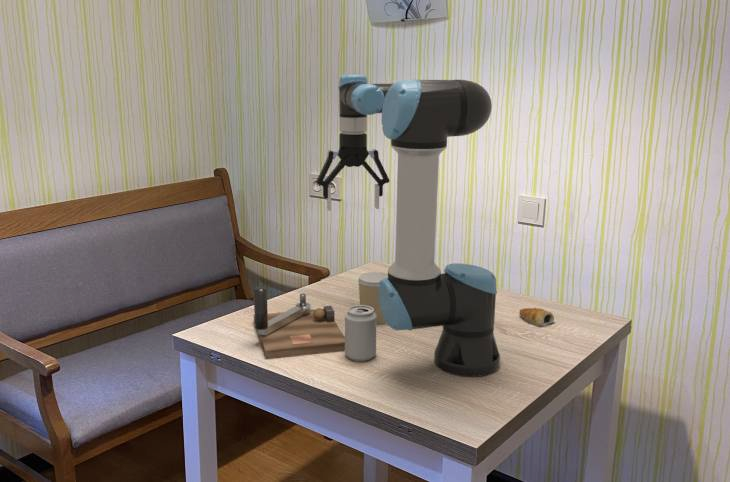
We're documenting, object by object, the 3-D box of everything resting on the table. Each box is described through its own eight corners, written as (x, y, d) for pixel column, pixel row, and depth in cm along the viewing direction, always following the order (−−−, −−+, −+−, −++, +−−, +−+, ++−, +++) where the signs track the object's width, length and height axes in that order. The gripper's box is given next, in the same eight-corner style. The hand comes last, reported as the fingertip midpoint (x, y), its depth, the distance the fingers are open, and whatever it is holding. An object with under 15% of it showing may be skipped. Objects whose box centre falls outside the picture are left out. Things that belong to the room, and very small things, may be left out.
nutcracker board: (348, 350, 173) (348, 330, 171) (265, 358, 168) (265, 338, 166) (327, 315, 195) (326, 297, 194) (253, 322, 190) (253, 303, 188)
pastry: (513, 318, 194) (514, 305, 193) (529, 313, 198) (530, 300, 197) (540, 328, 187) (541, 315, 186) (556, 323, 191) (557, 310, 190)
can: (381, 353, 171) (382, 306, 168) (365, 365, 164) (366, 316, 161) (355, 347, 174) (355, 301, 171) (338, 358, 168) (338, 310, 165)
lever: (301, 308, 193) (300, 266, 190) (313, 311, 191) (312, 268, 188) (251, 335, 175) (249, 289, 172) (264, 338, 173) (262, 292, 170)
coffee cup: (393, 313, 197) (394, 272, 193) (391, 326, 188) (391, 283, 184) (359, 312, 197) (360, 271, 194) (356, 324, 188) (356, 281, 185)
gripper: (394, 130, 199) (393, 204, 205) (305, 131, 195) (307, 207, 200) (400, 133, 192) (399, 209, 198) (309, 134, 188) (310, 213, 193)
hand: (353, 208), depth 199 cm, fingers open, 13 cm apart
